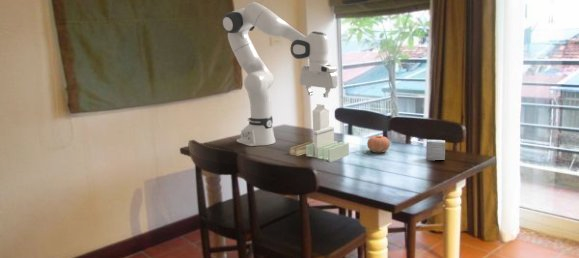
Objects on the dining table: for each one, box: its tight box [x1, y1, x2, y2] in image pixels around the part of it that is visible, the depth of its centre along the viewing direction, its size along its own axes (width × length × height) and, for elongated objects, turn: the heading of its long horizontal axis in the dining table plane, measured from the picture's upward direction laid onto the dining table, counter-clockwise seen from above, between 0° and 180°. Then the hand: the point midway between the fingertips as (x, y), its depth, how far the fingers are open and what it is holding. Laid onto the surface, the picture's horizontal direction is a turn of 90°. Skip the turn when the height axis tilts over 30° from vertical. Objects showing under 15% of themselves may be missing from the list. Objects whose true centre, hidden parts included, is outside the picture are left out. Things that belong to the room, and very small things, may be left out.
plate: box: [314, 126, 335, 158], centre depth 224 cm, size 2×13×12 cm, turn 138°
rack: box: [305, 140, 350, 163], centre depth 224 cm, size 14×15×6 cm
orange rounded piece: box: [366, 135, 391, 154], centre depth 229 cm, size 11×11×8 cm
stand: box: [289, 141, 313, 157], centre depth 231 cm, size 6×16×4 cm, turn 138°
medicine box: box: [425, 139, 446, 161], centre depth 212 cm, size 8×4×9 cm, turn 71°
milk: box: [311, 103, 330, 143], centre depth 241 cm, size 6×6×22 cm
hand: (317, 96), depth 224 cm, fingers open, 8 cm apart
